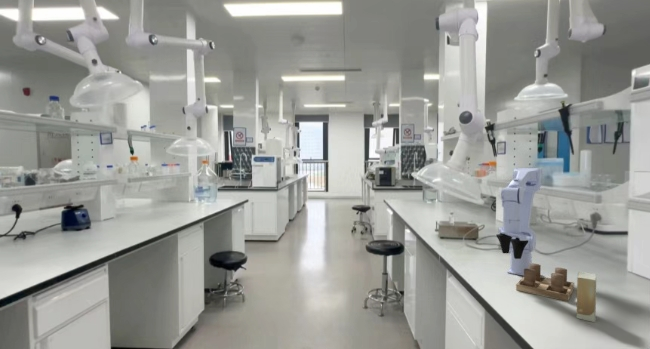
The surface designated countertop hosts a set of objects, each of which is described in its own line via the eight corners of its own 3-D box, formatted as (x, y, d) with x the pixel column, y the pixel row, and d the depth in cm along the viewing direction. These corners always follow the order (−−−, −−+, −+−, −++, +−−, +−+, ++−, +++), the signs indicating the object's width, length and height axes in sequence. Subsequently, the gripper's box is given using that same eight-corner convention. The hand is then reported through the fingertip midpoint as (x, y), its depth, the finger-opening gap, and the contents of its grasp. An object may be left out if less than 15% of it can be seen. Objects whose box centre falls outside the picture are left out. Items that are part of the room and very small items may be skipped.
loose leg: (525, 287, 124) (525, 267, 124) (536, 289, 121) (536, 269, 121) (522, 289, 121) (522, 270, 121) (533, 292, 119) (534, 272, 119)
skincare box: (577, 311, 104) (578, 270, 103) (595, 315, 101) (596, 273, 101) (576, 318, 99) (576, 276, 98) (595, 323, 96) (596, 279, 96)
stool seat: (526, 279, 132) (526, 260, 132) (574, 288, 122) (574, 268, 122) (516, 290, 121) (516, 270, 121) (568, 301, 111) (568, 279, 111)
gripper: (490, 216, 136) (490, 251, 136) (512, 223, 121) (512, 261, 121) (508, 216, 136) (508, 250, 136) (532, 222, 121) (531, 260, 122)
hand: (511, 255), depth 129 cm, fingers open, 7 cm apart
